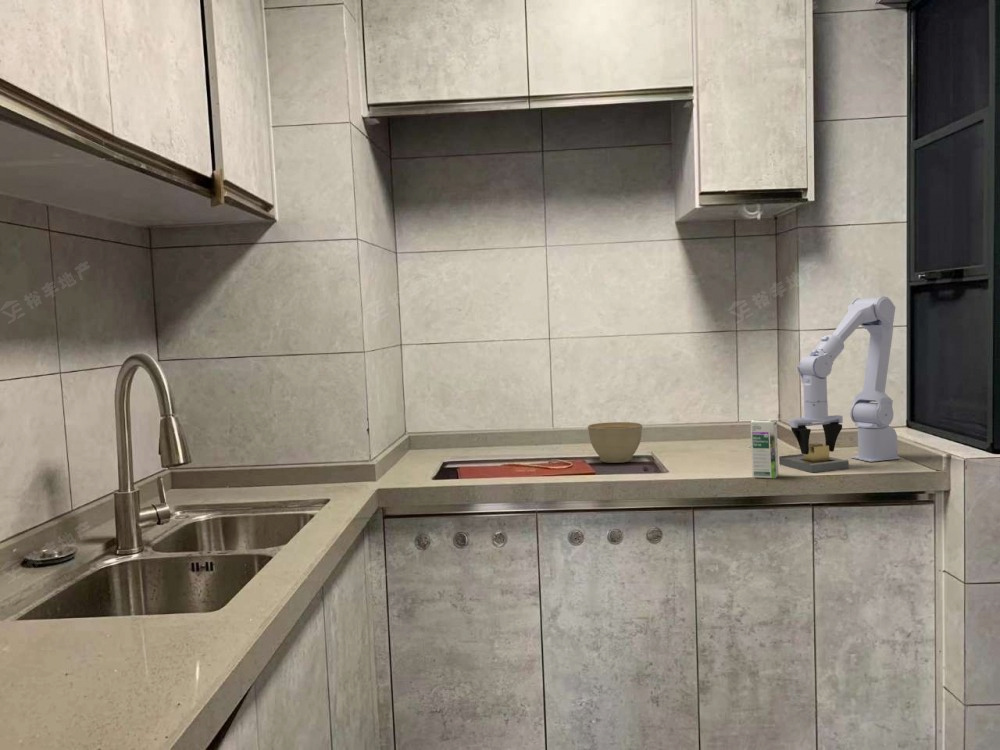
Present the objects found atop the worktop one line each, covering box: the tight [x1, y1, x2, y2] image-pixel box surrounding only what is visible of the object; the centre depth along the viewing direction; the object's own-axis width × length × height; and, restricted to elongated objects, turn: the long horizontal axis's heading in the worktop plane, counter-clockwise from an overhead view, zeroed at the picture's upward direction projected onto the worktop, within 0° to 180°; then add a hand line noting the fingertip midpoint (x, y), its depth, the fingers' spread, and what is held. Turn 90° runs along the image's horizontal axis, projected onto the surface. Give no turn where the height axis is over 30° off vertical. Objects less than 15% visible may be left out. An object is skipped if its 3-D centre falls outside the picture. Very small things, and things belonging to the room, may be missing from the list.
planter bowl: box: [587, 421, 643, 464], centre depth 231 cm, size 16×16×11 cm
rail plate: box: [778, 453, 850, 474], centre depth 205 cm, size 11×14×2 cm
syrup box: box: [749, 418, 780, 479], centre depth 196 cm, size 6×6×14 cm
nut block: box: [804, 442, 830, 463], centre depth 204 cm, size 4×4×6 cm
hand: (817, 452), depth 203 cm, fingers open, 7 cm apart
